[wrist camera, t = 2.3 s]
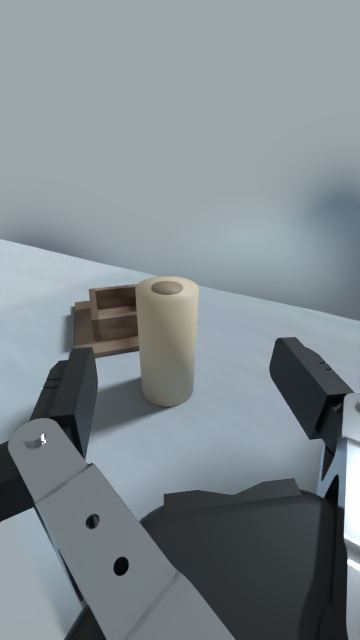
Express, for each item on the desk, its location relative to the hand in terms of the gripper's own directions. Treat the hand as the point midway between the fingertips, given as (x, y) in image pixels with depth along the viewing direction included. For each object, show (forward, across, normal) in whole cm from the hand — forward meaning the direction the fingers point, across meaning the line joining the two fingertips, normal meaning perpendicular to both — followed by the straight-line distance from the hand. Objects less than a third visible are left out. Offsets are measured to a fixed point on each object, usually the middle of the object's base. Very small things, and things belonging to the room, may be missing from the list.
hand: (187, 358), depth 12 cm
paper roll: (+12, 0, +12) cm, 17 cm away
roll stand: (+25, +4, +12) cm, 28 cm away
